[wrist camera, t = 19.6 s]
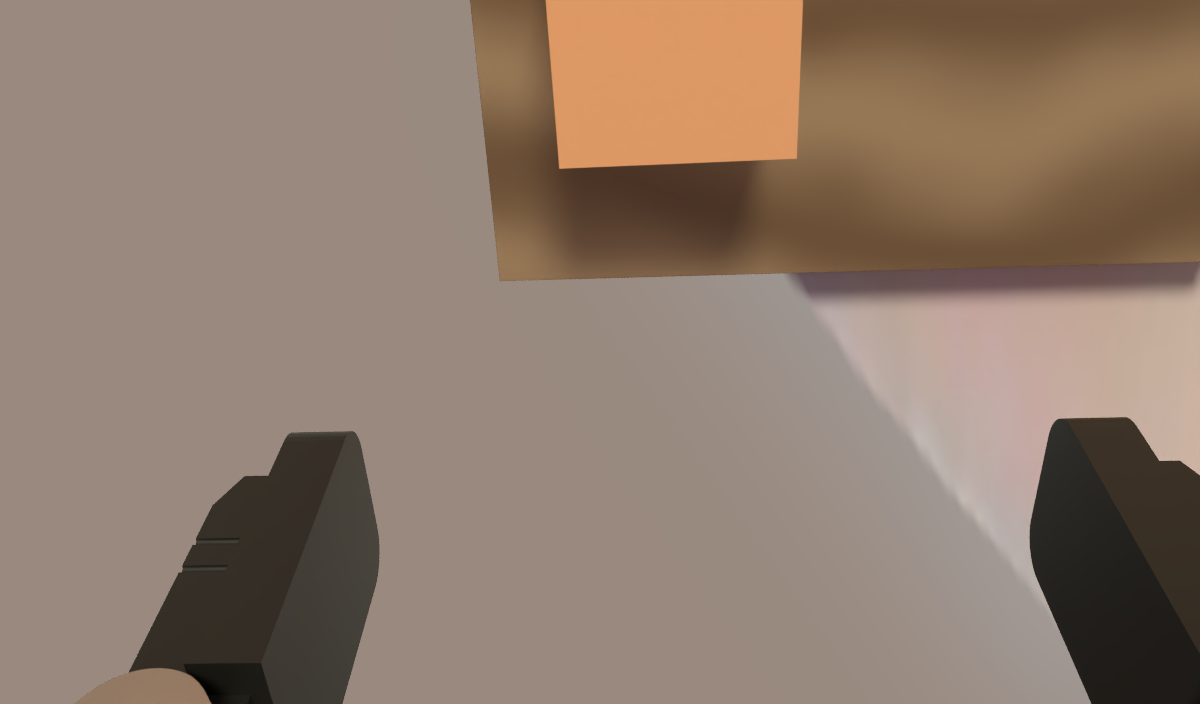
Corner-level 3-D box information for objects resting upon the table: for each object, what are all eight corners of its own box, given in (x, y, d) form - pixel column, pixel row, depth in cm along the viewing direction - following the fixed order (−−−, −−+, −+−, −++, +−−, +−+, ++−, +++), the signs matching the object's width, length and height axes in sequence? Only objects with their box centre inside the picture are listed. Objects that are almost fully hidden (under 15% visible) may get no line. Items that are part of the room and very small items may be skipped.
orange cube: (771, 82, 33) (796, 158, 28) (571, 91, 33) (559, 168, 28) (777, -136, 30) (806, -94, 25) (555, -124, 30) (539, -80, 25)
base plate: (443, -363, 29) (397, -368, 23) (1390, -415, 28) (1577, -434, 22) (505, 253, 38) (484, 352, 33) (1213, 233, 37) (1313, 332, 32)
